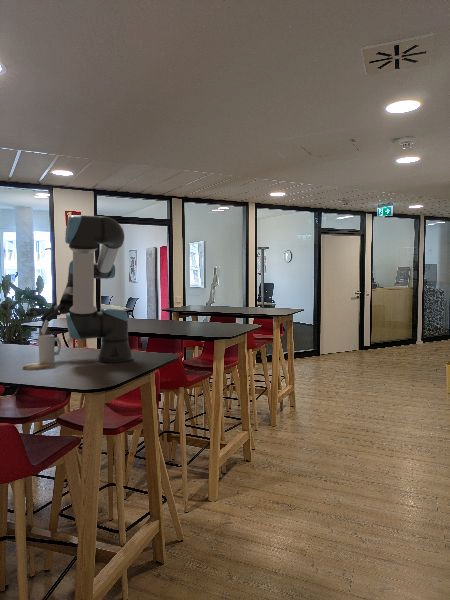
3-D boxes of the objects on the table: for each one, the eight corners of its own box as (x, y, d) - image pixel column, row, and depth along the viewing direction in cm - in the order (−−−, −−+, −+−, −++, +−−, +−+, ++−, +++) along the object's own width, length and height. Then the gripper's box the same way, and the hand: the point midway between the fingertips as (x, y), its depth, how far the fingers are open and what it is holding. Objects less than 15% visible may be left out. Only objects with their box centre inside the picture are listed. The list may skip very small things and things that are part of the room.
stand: (56, 366, 197) (55, 364, 197) (32, 371, 188) (32, 368, 188) (40, 363, 203) (40, 361, 203) (17, 368, 194) (17, 365, 194)
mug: (42, 364, 201) (41, 337, 200) (36, 362, 205) (35, 335, 205) (64, 361, 208) (64, 335, 207) (58, 359, 213) (57, 333, 212)
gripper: (96, 303, 229) (85, 337, 216) (48, 303, 232) (34, 337, 218) (92, 293, 224) (80, 327, 210) (42, 293, 226) (27, 327, 212)
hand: (56, 332), depth 214 cm, fingers open, 13 cm apart
